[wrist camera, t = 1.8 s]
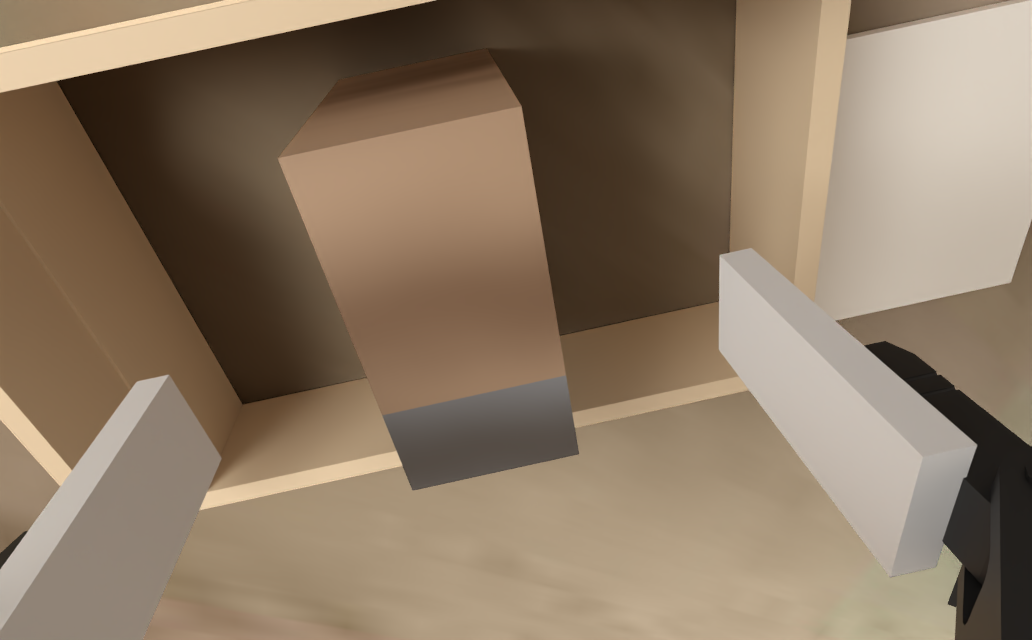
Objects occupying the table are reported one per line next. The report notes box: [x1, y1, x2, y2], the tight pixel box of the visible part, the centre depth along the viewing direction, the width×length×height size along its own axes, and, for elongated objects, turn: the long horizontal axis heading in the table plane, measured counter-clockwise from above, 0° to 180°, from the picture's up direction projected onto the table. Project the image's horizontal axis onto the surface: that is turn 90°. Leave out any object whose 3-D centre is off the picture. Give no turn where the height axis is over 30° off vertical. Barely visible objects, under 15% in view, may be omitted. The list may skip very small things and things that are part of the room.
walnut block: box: [278, 48, 579, 490], centre depth 18 cm, size 10×5×9 cm, turn 10°
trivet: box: [814, 0, 1032, 321], centre depth 23 cm, size 12×10×1 cm
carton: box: [0, 0, 851, 510], centre depth 18 cm, size 16×24×8 cm, turn 100°
